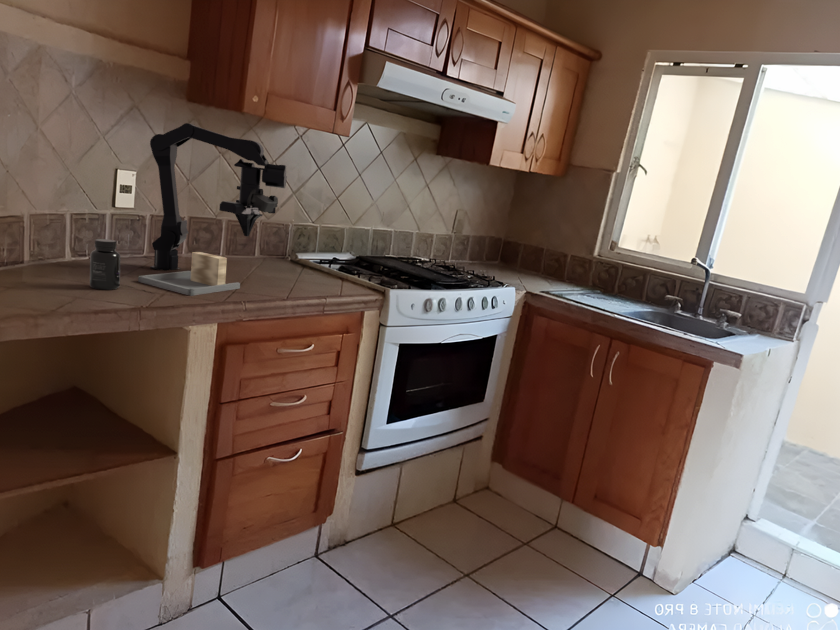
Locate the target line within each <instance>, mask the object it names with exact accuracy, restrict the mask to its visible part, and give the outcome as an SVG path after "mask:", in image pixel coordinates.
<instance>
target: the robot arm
mask: <svg viewBox="0 0 840 630" xmlns="http://www.w3.org/2000/svg"><path fill="white" fill-rule="evenodd" d="M191 139H193V140H196V141H199V142H203V143H205V144H209V145H212V146H215V147H218V148H222V149H225V150H228V151H230V152H232V153H233V154H235V155H237V156H239V157H241V158H240V159H239V160H238V161H237V162H235V163H234V164H233V165H234V167H235V168H240V182H239V185H236V190H239V194H238V195H239V197H238V199H236V200H235V201H231V200H225V201H224V200H222V201H221V202H220V203H219V208H218V209H219V211H220V212H225V213H231V214H234V215H235V217H236V220H237V221H238V223H239V226H240V229H241V231H242V233H243V236H245V237H250V234H251V231H252V229H253V227H254V225H255V223H256V222H257V220H258V219H259V218H260V217H263V215H264V214H263V213H267V214H276V208H278V203H279V200H278V199H279V197H278V196H276V195H264V189H263V188H261V182H262V183H263V184H264V185H265V187H269V188H271V187H272V188H277V189H278V188H279V189H286V185H287V179H288V176H287V166H286V165H285V164H273V163H270V162H269V161H268V160H267V158H266V156H265V155H264V147H263V145H262V144H261V143H260V142H259V141H255V140H251V139H245V138H244V139H243V138H236V137H235V138H234V137H230V136H227V135H224V134H221V133H219V132H214V131H212V130H209V129H206V128H202V127H199V126H196V125H195V124H193V123H189V122H186V123H184V124H182V125H181V126H179V127H176V128H174V129H172V130H169V131H167V132H164V133H159V134H154V135H153V136H152V137H151V138H150V141H149V142H150V143H149V146H150V150H151V153H152V157H153V159H154V161H155V163H156V165H157V167H158V176H159V186H160V194H161V203H162V213H163V217H162V221H161V225H160V236H159V237H158V238H156V239H155V240H154V241H152V242H151V245H152V247H153V250H154V257H153V258H154V260H153V261H154V264H153V265H151V266H149V268H150V269H153V270H157V271H164V272H165V271H166V272H167V271H174V270H175V271H176V270H177V271H178V270H181V269H182V268H181V267H179V253H178V252H179V250H177V249H179V247H180V245H181V244H182V243H183V242H185V241H186V239H187V235H188V234H189V233H190V232H189V231H188V220H187V219H184V220H182V217H181V215H180V208H179V199H178V198H179V197H178V190H177V189H178V188H177V182H176V181H177V180H176V171H175V170H176V169H175V165H176V161H177V156H178V148H179V147H181V146H183V145H184V144H186V143H187V142H188V141H190V140H191ZM242 158H243V159H242ZM244 159H245V160H247V161H251V162H247V161H244ZM255 164H256V165H257V166H255ZM258 166H261V167H258ZM260 212H262V213H260Z"/></svg>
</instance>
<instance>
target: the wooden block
mask: <svg viewBox="0 0 840 630" xmlns="http://www.w3.org/2000/svg"><path fill="white" fill-rule="evenodd" d="M227 261H228V258H227V257H225V256H220V255H215V254H211V253H207V252H203V251H195V252H193V251H192V252H191V263H190V264H191V266H190V267H191V269H190V271H191V281H195V282H199V283H203V284H207V285H211V286H215V285H222V284H226V280H227V279H226V277H227V264H228V263H227Z"/></svg>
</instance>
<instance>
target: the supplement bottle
mask: <svg viewBox="0 0 840 630" xmlns="http://www.w3.org/2000/svg"><path fill="white" fill-rule="evenodd" d="M94 248H95V249H94V250H92V251H91V252H90V254H89V256H90V257H89V258H90V259H89V286H90V287H91V289H95V290H103V291H106V290H107V291H109V290H111V291H112V289H113V290H117V288H118V289H119V288H120V287H121V286H120V284H121V254H120V252H118V251H117V250H116V249H117V240H113V239H106V238H98V239H94Z"/></svg>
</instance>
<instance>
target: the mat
mask: <svg viewBox="0 0 840 630" xmlns="http://www.w3.org/2000/svg"><path fill="white" fill-rule="evenodd" d="M137 282H138V283H141V284H145V285H149V286H153V287H156V288H160V289H163V290H168V291H171V292H174V293H175V292H176V293H178V294H183V295H184V296H185V295H186V296H190V297H192V296H194V297H195V296H198V295H206V294H211V293H212V294H213V293H219V292H225V291H226V292H227V291H232V290H237V289H241V282H230V283H225V284H222V285H215V286H211V285H207V284H203V283H199V282H195V281H191V270H184V271H176V272H175V271H173V272H165V273H164V272H163V273H155V274H145V275H144V274H143V275H138V276H137Z"/></svg>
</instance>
